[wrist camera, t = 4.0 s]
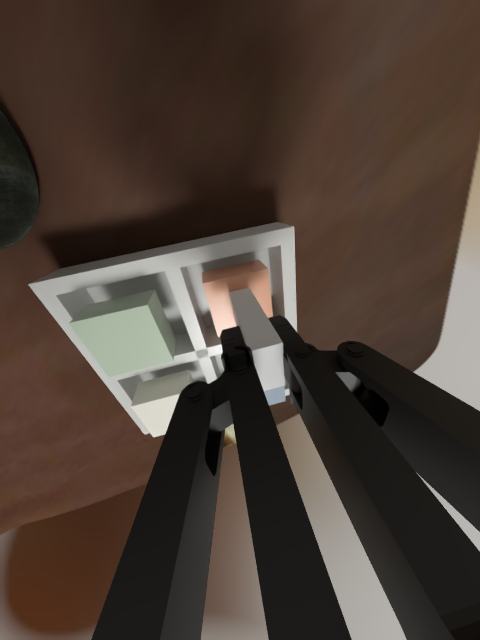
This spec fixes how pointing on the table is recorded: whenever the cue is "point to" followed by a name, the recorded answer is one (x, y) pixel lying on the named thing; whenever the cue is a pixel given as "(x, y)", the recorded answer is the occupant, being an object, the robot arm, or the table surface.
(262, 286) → the key terracotta
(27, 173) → the mug
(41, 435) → the table surface
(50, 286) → the frame
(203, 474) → the robot arm
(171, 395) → the key ivory
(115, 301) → the key sage
